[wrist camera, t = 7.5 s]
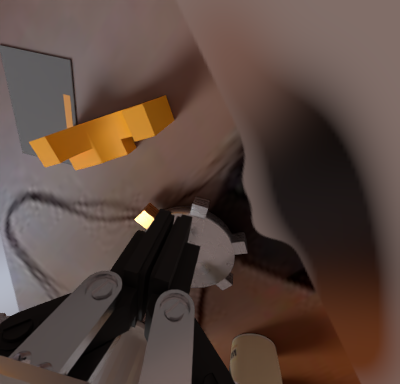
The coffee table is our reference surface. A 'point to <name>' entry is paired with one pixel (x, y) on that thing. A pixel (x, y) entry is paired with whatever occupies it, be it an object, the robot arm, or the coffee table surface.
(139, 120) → the pipe clamp
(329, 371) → the coffee table surface
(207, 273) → the sprocket
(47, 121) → the mat
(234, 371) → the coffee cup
